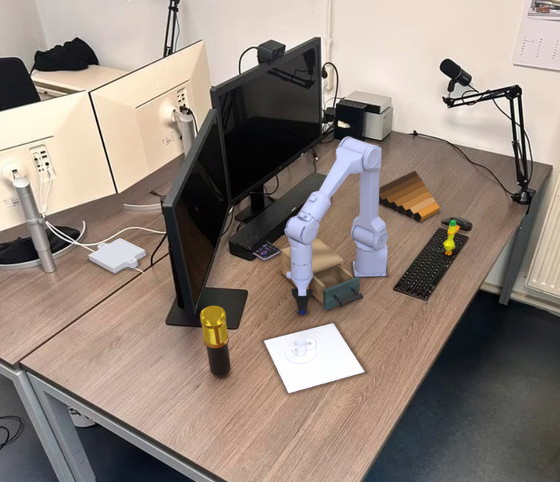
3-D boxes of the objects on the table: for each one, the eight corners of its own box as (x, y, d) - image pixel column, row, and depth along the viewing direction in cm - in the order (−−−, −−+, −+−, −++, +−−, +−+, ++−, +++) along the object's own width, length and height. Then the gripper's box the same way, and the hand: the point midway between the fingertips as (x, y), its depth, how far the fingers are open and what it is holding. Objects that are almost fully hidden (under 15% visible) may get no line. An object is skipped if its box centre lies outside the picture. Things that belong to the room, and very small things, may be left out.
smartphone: (252, 233, 190) (282, 250, 181) (252, 234, 190) (282, 251, 181) (235, 241, 186) (264, 259, 177) (235, 243, 186) (264, 260, 177)
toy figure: (448, 246, 180) (454, 213, 172) (458, 250, 178) (465, 217, 171) (438, 255, 176) (444, 222, 169) (448, 259, 174) (454, 226, 167)
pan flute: (410, 177, 219) (367, 198, 207) (411, 169, 217) (367, 189, 205) (464, 198, 204) (421, 222, 192) (465, 190, 202) (422, 213, 190)
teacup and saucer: (312, 339, 148) (312, 328, 145) (323, 359, 142) (324, 347, 139) (281, 347, 146) (280, 336, 143) (291, 367, 140) (291, 356, 137)
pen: (307, 313, 156) (307, 297, 153) (300, 316, 155) (299, 300, 152) (303, 309, 158) (303, 293, 154) (296, 312, 157) (296, 296, 153)
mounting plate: (151, 257, 181) (150, 252, 180) (119, 276, 174) (118, 271, 172) (116, 240, 190) (115, 235, 189) (84, 257, 183) (83, 252, 181)
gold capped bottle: (185, 395, 134) (172, 332, 121) (219, 362, 142) (210, 301, 130) (203, 405, 131) (192, 342, 119) (237, 371, 139) (230, 309, 127)
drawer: (368, 306, 156) (370, 287, 152) (335, 320, 152) (335, 300, 148) (332, 274, 169) (333, 255, 164) (300, 286, 165) (300, 267, 160)
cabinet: (342, 283, 166) (343, 259, 161) (306, 297, 162) (306, 273, 156) (316, 260, 176) (316, 237, 171) (282, 272, 172) (281, 249, 166)
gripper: (286, 245, 151) (287, 285, 160) (286, 276, 140) (287, 317, 148) (312, 244, 151) (312, 284, 159) (314, 275, 140) (314, 317, 148)
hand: (302, 300), depth 154 cm, fingers open, 7 cm apart
